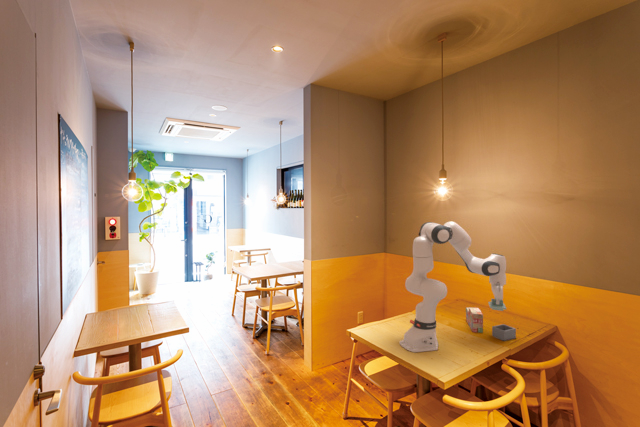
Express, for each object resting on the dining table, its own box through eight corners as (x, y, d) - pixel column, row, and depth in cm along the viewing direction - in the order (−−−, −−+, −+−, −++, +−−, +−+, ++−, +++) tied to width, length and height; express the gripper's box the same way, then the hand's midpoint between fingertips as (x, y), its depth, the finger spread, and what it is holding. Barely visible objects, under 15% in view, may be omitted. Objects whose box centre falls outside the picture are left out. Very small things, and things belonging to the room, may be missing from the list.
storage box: (504, 341, 186) (504, 331, 186) (492, 336, 193) (492, 326, 193) (515, 338, 189) (515, 328, 189) (503, 333, 197) (503, 324, 197)
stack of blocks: (465, 320, 220) (465, 303, 220) (475, 321, 219) (475, 303, 218) (472, 332, 200) (472, 313, 199) (483, 333, 198) (483, 314, 198)
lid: (506, 311, 182) (506, 302, 182) (490, 309, 185) (490, 301, 185) (503, 306, 191) (503, 298, 191) (488, 305, 195) (488, 296, 195)
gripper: (506, 284, 177) (505, 308, 178) (501, 277, 196) (500, 299, 196) (493, 283, 180) (493, 307, 180) (489, 276, 199) (489, 298, 199)
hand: (497, 303), depth 188 cm, fingers closed on lid, 3 cm apart
